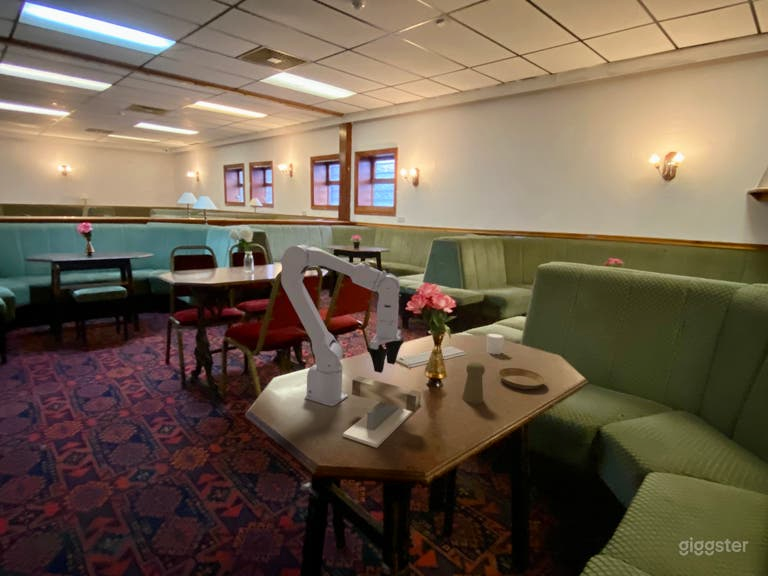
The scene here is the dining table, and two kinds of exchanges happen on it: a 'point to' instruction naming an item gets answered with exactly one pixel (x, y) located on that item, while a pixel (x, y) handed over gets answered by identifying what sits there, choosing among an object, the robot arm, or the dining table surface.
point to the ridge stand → (377, 424)
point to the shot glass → (494, 343)
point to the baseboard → (423, 357)
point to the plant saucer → (513, 372)
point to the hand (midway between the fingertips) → (384, 367)
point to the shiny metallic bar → (386, 393)
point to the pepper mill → (474, 383)
